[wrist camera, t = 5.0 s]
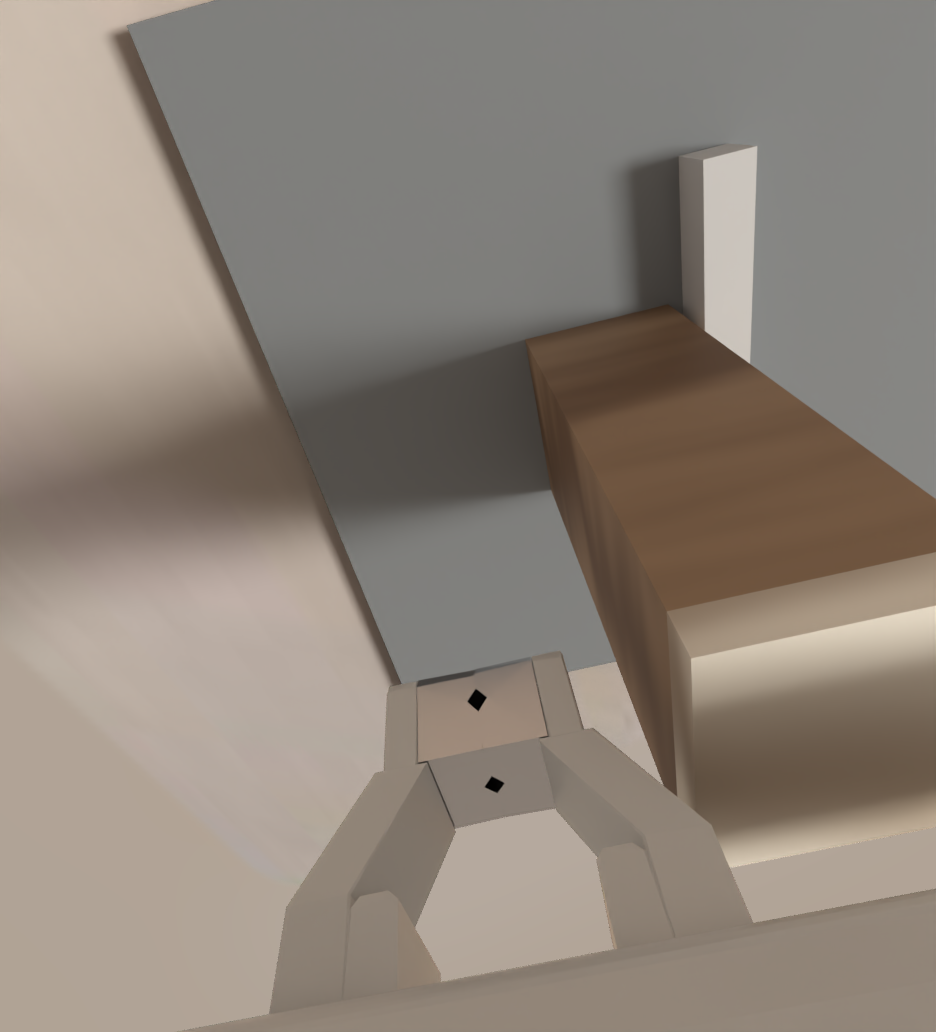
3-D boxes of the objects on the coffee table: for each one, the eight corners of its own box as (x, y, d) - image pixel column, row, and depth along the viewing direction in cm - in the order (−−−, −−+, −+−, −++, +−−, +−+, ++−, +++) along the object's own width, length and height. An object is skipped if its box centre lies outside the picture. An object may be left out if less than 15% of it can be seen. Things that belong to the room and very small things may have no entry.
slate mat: (136, 28, 13) (96, 16, 12) (1406, -331, 12) (1578, -408, 10) (410, 694, 25) (411, 737, 24) (1059, 552, 24) (1111, 587, 22)
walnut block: (525, 339, 17) (691, 658, 7) (668, 304, 17) (1048, 580, 7) (551, 490, 20) (697, 873, 10) (674, 461, 20) (953, 823, 10)
